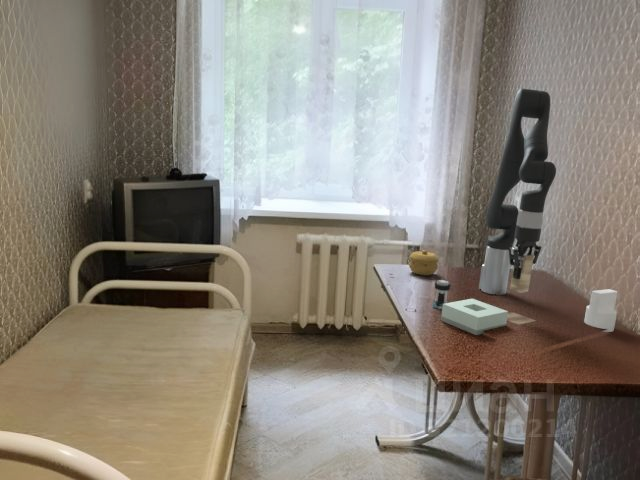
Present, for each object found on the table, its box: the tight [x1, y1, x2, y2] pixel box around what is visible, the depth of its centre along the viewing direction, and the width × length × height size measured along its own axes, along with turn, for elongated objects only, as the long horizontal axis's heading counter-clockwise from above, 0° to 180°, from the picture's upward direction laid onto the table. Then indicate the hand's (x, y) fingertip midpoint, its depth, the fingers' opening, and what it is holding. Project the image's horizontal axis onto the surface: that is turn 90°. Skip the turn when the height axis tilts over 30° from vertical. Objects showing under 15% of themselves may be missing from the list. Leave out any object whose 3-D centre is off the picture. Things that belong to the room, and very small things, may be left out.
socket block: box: [440, 298, 509, 336], centre depth 187 cm, size 14×14×6 cm
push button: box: [432, 279, 452, 310], centre depth 198 cm, size 7×5×10 cm
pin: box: [509, 255, 535, 294], centre depth 191 cm, size 4×4×12 cm
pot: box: [408, 249, 439, 276], centre depth 245 cm, size 12×12×10 cm
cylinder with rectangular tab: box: [583, 288, 619, 333], centre depth 193 cm, size 9×9×12 cm
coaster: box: [507, 311, 537, 326], centre depth 194 cm, size 9×9×1 cm
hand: (520, 277), depth 191 cm, fingers closed on pin, 4 cm apart
